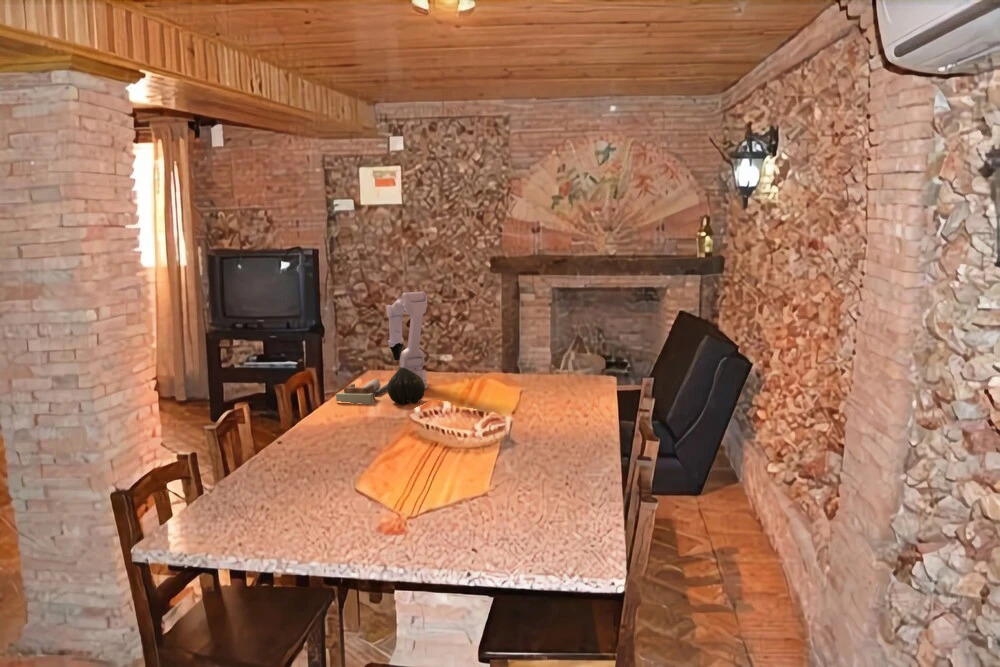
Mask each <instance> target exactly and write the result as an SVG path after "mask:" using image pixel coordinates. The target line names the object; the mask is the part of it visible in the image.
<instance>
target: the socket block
mask: <svg viewBox="0 0 1000 667" xmlns="http://www.w3.org/2000/svg"><path fill="white" fill-rule="evenodd" d="M343 393H373V400H374V399H375V392H374V384H370V385H368V386H367V387H363V386H361V387H359V386H356V384H355V383H351V384H349V385H348V386H346V387H343Z"/></svg>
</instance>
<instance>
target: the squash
mask: <svg viewBox="0 0 1000 667" xmlns="http://www.w3.org/2000/svg"><path fill="white" fill-rule="evenodd" d="M387 384H388V391H387V394H388V396H389V398H390V400H391V401H392V402H394V403H395V404H397V405H402V404H405V403H407V402H408V403H411V404H418V403H419V402H420V401H421V400H422V399H423V398H424V397H425V396H424V395H425V391H426V389H425V385H424V382H423V380H422V379H421V377H420V376H418V375H417V374H415V373H414V372H412V371H410V370H408V369H406V368H403V367H402V368H401V367H400V368H399V369H398V370H397V371H396V372H395V373H394V374H393V375H392V376H391V378H390V379H389V381H388V383H387Z"/></svg>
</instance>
